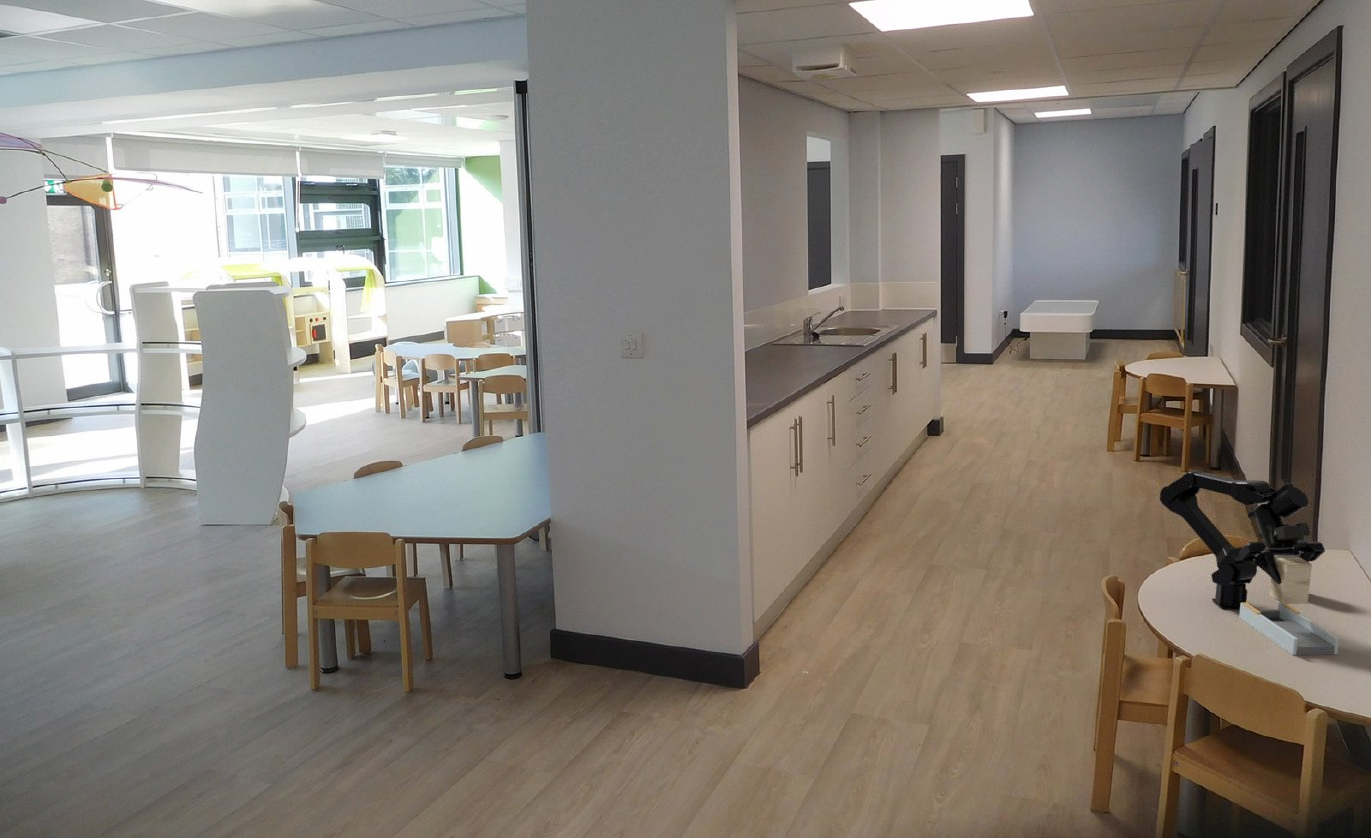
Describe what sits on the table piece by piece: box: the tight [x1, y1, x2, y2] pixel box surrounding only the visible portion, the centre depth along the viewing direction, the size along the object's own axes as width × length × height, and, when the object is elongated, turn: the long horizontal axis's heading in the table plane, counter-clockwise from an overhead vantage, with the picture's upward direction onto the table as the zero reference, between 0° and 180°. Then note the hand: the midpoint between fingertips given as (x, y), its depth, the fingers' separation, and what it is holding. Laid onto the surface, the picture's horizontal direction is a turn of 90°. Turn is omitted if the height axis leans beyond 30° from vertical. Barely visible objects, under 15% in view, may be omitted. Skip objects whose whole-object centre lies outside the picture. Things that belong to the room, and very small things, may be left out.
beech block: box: [1268, 556, 1313, 605], centre depth 265 cm, size 6×6×10 cm
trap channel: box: [1238, 601, 1340, 656], centre depth 267 cm, size 24×11×4 cm, turn 1°
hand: (1292, 583), depth 264 cm, fingers closed on beech block, 6 cm apart
